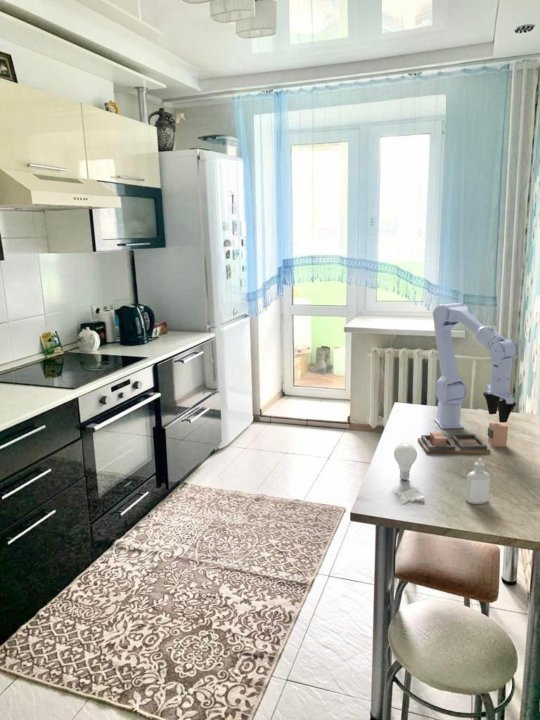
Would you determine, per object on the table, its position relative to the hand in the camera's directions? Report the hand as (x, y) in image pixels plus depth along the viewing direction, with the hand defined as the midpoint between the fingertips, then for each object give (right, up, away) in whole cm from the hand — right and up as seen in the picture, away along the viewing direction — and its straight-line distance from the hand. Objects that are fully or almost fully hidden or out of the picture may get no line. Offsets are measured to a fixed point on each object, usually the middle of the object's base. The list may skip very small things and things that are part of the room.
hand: (497, 417), depth 173 cm
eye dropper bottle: (-19, -19, -32) cm, 42 cm away
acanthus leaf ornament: (-36, -19, -29) cm, 50 cm away
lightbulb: (-35, -16, -20) cm, 43 cm away
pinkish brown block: (+1, -9, +3) cm, 10 cm away
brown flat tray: (-14, -10, +2) cm, 17 cm away
